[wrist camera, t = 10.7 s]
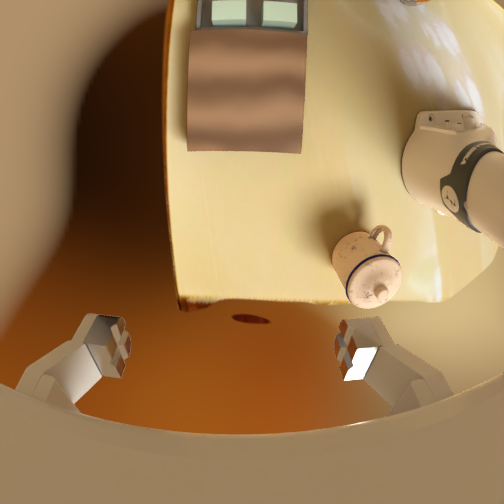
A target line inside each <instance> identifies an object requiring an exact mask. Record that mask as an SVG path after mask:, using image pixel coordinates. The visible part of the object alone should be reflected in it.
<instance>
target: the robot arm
mask: <svg viewBox="0 0 504 504" xmlns="http://www.w3.org/2000/svg"><path fill="white" fill-rule="evenodd" d="M429 117H430V121H429ZM402 175H403V180H404V184H405V186H406V189H407V191H408V192H409V194H410V195H411V196H412V198H413V199H414V200H416V201H417V202H418V203H420V204H423V205H426V206H429V207H432V208H433V209H434V210H435V211H436V212H437V213H438V214H440V215H442V216H444V215H448V216H450V217H452V218H454V219H456V220H458V221H460V222H462V223H463V224H465V225H466V226H467V227H468V228H469V229H472V230H474V231H476V232H478V233H483V234H484V235H486V236H487V237H488V238H490V239H491V240H492V241H494V242H495V243H496V244H498V245H499V246H500V247H502V248H503V249H504V153H503V152H502V151H501V150H500V149H499V144H498V140H497V137H496V135H495V133H494V131H493V130H492V129H491V128H490V127H489V126H486V125H484V122H483V120H482V118H481V116H480V115H479V113H478V112H476V111H473V110H440V111H421V112H419V113H418V115H417V119H416V124H415V129H414V131H413V133H412V135H411V137H410V138H409V140H408V142H407V144H406V146H405V149H404V153H403V158H402ZM125 326H126V324H125V321H124V319H123V318H122V317H116V316H108V315H97V314H91V313H89V314H87V315H86V316H85V318H84V319H83V321H82V323H81V325H80V326H79V328H78V330H77V331H76V333H75V335H74V337H73V338H72V340H71V341H67V342H65V343H64V344H62V345H60V346H59V347H57V348H56V349H54V350H53V351H51V352H50V353H48V354H47V355H45V356H44V357H42V358H40V359H39V360H38V361H36V362H34V363H33V364H31V365H30V366H28V367H27V368H26V370H25V372H24V374H23V376H22V377H21V379H20V381H19V383H18V385H17V387H16V389H15V390H13V389H11V388H8V387H7V386H4V385H2V384H0V504H504V373H502V374H500V375H498V376H496V377H494V378H492V379H490V380H488V381H486V382H483V383H481V384H479V385H477V386H475V387H472V388H470V389H468V390H465V391H463V392H461V393H459V394H456V395H454V394H453V392H452V390H451V389H450V387H449V385H448V383H447V381H446V379H445V378H444V376H443V374H442V372H440V371H439V370H437V369H435V368H434V367H433V366H431V365H429V364H428V363H426V362H425V361H423V360H422V359H420V358H419V357H417V356H416V355H414V354H412V353H411V352H409V351H408V350H406V349H405V348H403V347H402V346H400V345H399V344H397V345H395V344H394V342H393V340H392V338H391V337H390V335H389V333H388V331H387V329H386V328H385V326H384V324H383V322H382V321H381V319H380V318H379V317H378V316H376V317H366V318H356V319H343V320H342V321H341V322H340V325H339V329H340V333H339V334H338V335H337V336H336V338H335V342H334V350H335V355H336V359H338V360H339V361H340V362H341V365H340V371H341V374H342V376H343V380H344V381H346V380H355V379H363V378H364V380H365V381H366V382H367V383H368V384H369V385H370V386H371V387H372V388H373V389H374V390H375V391H377V392H378V393H379V394H380V395H381V396H382V397H383V398H384V399H385V400H386V401H387V402H388V403H389V404H391V406H393V408H392V410H391V411H390V412H389V414H388V415H387V416H386V417H383V418H379V419H375V420H371V421H366V422H361V423H356V424H351V425H345V426H339V427H333V428H326V429H319V430H311V431H303V432H291V433H278V434H256V435H255V434H254V435H223V434H200V433H186V432H176V431H167V430H159V429H151V428H145V427H139V426H133V425H127V424H122V423H118V422H113V421H108V420H104V419H100V418H95V417H92V416H88V415H84V414H81V413H80V411H79V410H78V409H77V408H76V406H75V405H74V403H75V402H76V401H77V400H78V399H79V398H81V396H83V395H84V393H86V392H87V391H88V390H89V389H90V388H91V387H92V386H93V385H94V384H95V383H96V382H97V381H98V380H99V379H100V378H101V377H102V376H108V377H115V378H121V377H122V374H123V371H124V368H125V363H124V359H126V358H127V357H128V356H129V354H130V349H131V340H130V336H129V333H128V332H126V331H125V330H124V328H125Z"/></svg>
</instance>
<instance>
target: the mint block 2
mask: <svg viewBox="0 0 504 504" xmlns="http://www.w3.org/2000/svg"><path fill="white" fill-rule="evenodd" d="M296 24H297V3H287V2H275V1H263V6H262V10H261V27H263V28H277V29H287V30H293V28H294V27H295V25H296Z"/></svg>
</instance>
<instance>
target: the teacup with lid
mask: <svg viewBox="0 0 504 504" xmlns="http://www.w3.org/2000/svg"><path fill="white" fill-rule="evenodd" d="M381 231H384V241H383V244H382V245H381V244H380V243H379V242H378V241H377V240H376V238H377V236H378V234H379V233H380V232H381ZM391 242H392V232H391V230H390V229H389V228H388V227H387V226H384V225H378V226H376V227H375V228H374V229H373V230H372V232H371V233H370V234H369V233H366V232H353V233H350V234H348V235H346V236H345V237H343V238H342V239H341V240H340V241H339V242H338V243H337V245H336V246H335V248H334V251H333V254H332V264H333V267H334V269H335V271H336V273H337V275H338V276H339V278H340V280H341V282H342V284H343V286H344V288H345V290H346V295H347V297H348V299H349V300H350V302H351V303H353V304H354V305H356V306H358V307H361V308H374V307H377V306H380V305H382V304H384V303H386V302H387V301H388V300H390V299H391V298H392V297H393V296H394V294H395V293H396V292H397V290H398V288H399V286H400V283H401V280H402V271H401V267H400V264H399V262H398V261H397V260H396V259H395V258H394V257H392V256H390V254H389V253H388V252H387V251H388V250H389V247H390V245H391Z"/></svg>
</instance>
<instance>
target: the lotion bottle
mask: <svg viewBox="0 0 504 504" xmlns="http://www.w3.org/2000/svg"><path fill="white" fill-rule="evenodd" d="M400 1H401V2H403V3H405V4H407V5H409V6H416V5H419V4H422V3H425V2H427V1H430V0H400Z"/></svg>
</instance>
